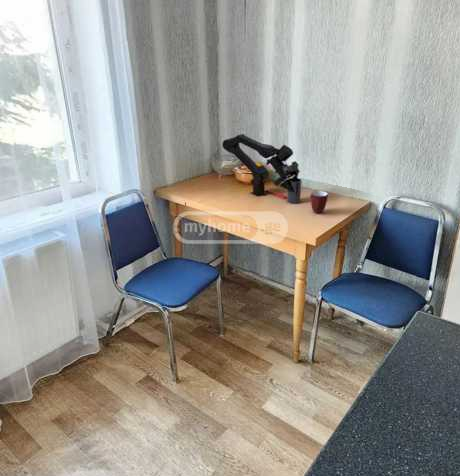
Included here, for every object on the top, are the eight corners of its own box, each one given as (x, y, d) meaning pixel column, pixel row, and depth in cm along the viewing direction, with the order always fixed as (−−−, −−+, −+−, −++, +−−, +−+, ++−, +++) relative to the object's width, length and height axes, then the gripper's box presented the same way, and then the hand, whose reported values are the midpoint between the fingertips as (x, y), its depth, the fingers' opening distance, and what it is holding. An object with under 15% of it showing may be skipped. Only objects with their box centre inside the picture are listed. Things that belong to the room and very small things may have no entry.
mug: (326, 217, 191) (328, 198, 187) (309, 216, 193) (311, 197, 188) (325, 209, 201) (327, 191, 197) (309, 208, 202) (310, 190, 198)
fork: (264, 191, 227) (264, 190, 227) (268, 190, 229) (268, 188, 228) (283, 198, 215) (284, 197, 215) (287, 197, 217) (288, 196, 217)
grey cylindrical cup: (285, 202, 211) (286, 180, 206) (289, 198, 216) (291, 177, 211) (297, 204, 208) (298, 182, 203) (301, 200, 213) (303, 179, 208)
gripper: (280, 161, 197) (299, 186, 196) (297, 153, 211) (315, 177, 210) (266, 174, 205) (284, 198, 203) (283, 165, 218) (300, 188, 217)
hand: (296, 190), depth 208 cm, fingers closed on grey cylindrical cup, 7 cm apart
